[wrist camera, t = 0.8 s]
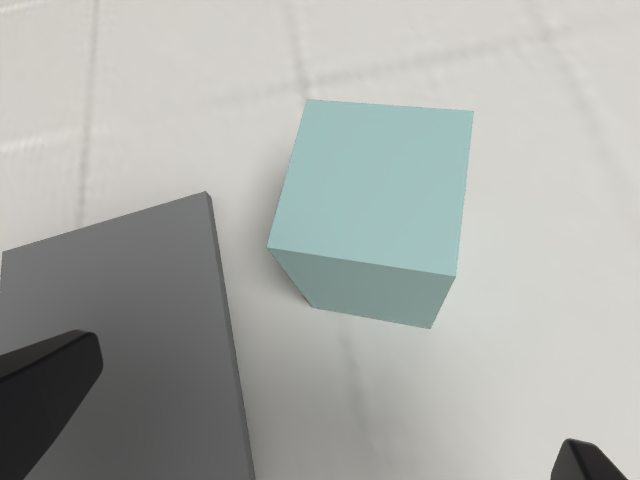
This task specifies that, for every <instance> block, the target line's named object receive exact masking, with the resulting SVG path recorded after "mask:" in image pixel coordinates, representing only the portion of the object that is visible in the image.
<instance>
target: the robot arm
mask: <svg viewBox="0 0 640 480" xmlns="http://www.w3.org/2000/svg"><path fill="white" fill-rule="evenodd" d="M103 367H104V361H103V357H102V352H101V347H100V343H99V339H98V336H97V335H96V333H94V332H91V331H87V330H82V329H74V330H71V331H68V332H65V333H62V334H59V335H57V336H54V337H51V338H48V339H45V340H42V341H39V342H37V343H34V344H31V345H28V346H25V347H22V348H19V349H17V350H14V351H11V352H8V353H5V354H2V355H0V480H24V479H25V478H26V476H27V475H28V474H29V473H30V471H31V470H32V469H33V468H34V466H35V465H36V464H37V463H38V462H39V460H40V459H41V458H42V457H43V455H44V454H45V453H46V452H47V450H48V449H49V448H50V447H51V445H52V444H53V443H54V442H55V440H56V439H57V437H58V436H59V435H60V433H61V432H62V430H63V429H64V428H65V426H66V425H67V423H68V422H69V420H70V419H71V417H72V416H73V414H74V413H75V411H76V410H77V409H78V407H79V406H80V404H81V403H82V401H83V400H84V398H85V397H86V395H87V394H88V392H89V391H90V390H91V388H92V387H93V385H94V384H95V382H96V381H97V379H98V378H99V376H100V375H101V373H102V370H103ZM551 480H628V479H627V478H626V477H625V476H624V475H623V474H622V473H621V471H620V470H619V469H618V468H617V467H616V466H615V465H614V464H613V463H612V462H611V461H610V460H609V459H608V457H607V456H606V455H605V454H604V453H603V452H602V451H601V450H600V449H599V448H598V447H597V446H596V445H594V444H592V443H589V442H584V441H580V440H575V439H571V438H570V439H566V440H565V441H564V442H563V444H562V446H561V449H560V451H559V454H558V456H557V459H556V461H555V464H554V467H553V469H552V472H551Z"/></svg>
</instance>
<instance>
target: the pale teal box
mask: <svg viewBox="0 0 640 480" xmlns="http://www.w3.org/2000/svg"><path fill="white" fill-rule="evenodd" d="M473 113H474V111H465V110H451V109H437V108H422V107H408V106H394V105H380V104H366V103H351V102H337V101H323V100H309V99H307V100H306V103H305V107H304V111H303V114H302V118H301V122H300V126H299V129H298V133H297V137H296V140H295V144H294V148H293V151H292V155H291V159H290V162H289V166H288V170H287V173H286V177H285V181H284V184H283V188H282V192H281V195H280V199H279V203H278V206H277V210H276V214H275V217H274V221H273V225H272V229H271V232H270V236H269V240H268V243H267V249H268V250H269V251H270V253H271V254H272V255H273V256H274V258H275V259H276V260H277V262H278V263H279V264H280V265H281V267H282V268H283V269H284V271H285V272H286V273H287V275H288V276H289V277H290V278H291V280H292V281H293V282H294V284H295V285H296V286H297V287H298V289H299V290H300V291H301V293H302V294H303V295H304V296H305V298H306V299H307V300H308V302H309V303H310V304H311V305H312V307H313V308H318V309H324V310H329V311H335V312H340V313H346V314H351V315H357V316H362V317H368V318H373V319H379V320H384V321H390V322H395V323H400V324H406V325H411V326H417V327H422V328H428V329H431V327H432V325H433V322H434V320H435V318H436V316H437V314H438V312H439V310H440V308H441V306H442V304H443V302H444V300H445V298H446V296H447V294H448V291H449V289H450V287H451V285H452V283H453V281H454V279H455V277H456V270H457V260H458V251H459V242H460V233H461V224H462V214H463V205H464V196H465V187H466V178H467V168H468V159H469V150H470V141H471V132H472V122H473Z"/></svg>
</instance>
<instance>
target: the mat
mask: <svg viewBox="0 0 640 480" xmlns="http://www.w3.org/2000/svg"><path fill="white" fill-rule="evenodd" d="M74 329H82V330H87V331H91V332H94V333H96V335H97V336H98V339H99V343H100V347H101V352H102V357H103V361H104V367H103V370H102V373H101V375H100V376H99V378H98V379H97V381H96V382H95V384H94V385H93V387H92V388H91V390H90V391H89V392H88V394H87V395H86V397H85V398H84V400H83V401H82V403H81V404H80V406H79V407H78V409H77V410H76V411H75V413H74V414H73V416H72V417H71V419H70V420H69V422H68V423H67V425H66V426H65V428H64V429H63V430H62V432H61V433H60V435H59V436H58V437H57V439H56V440H55V442H54V443H53V444H52V445H51V447H50V448H49V449H48V450H47V452H46V453H45V454H44V455H43V457H42V458H41V459H40V460H39V462H38V463H37V464H36V465H35V466H34V468H33V469H32V470H31V471H30V473H29V474H28V475H27V476H26V478H25V479H24V480H255V474H254V468H253V462H252V455H251V449H250V442H249V436H248V430H247V423H246V417H245V411H244V404H243V398H242V392H241V385H240V379H239V372H238V366H237V360H236V353H235V347H234V341H233V334H232V328H231V321H230V315H229V309H228V302H227V296H226V290H225V283H224V277H223V270H222V264H221V258H220V251H219V245H218V239H217V232H216V226H215V219H214V213H213V207H212V200H211V197H210V196H209V194H208V193H207V192H206V191H204V192H201V193H198V194H194V195H191V196H188V197H184V198H181V199H178V200H174V201H171V202H168V203H164V204H161V205H158V206H154V207H151V208H148V209H144V210H141V211H138V212H134V213H131V214H128V215H124V216H121V217H118V218H114V219H111V220H108V221H104V222H101V223H98V224H94V225H91V226H88V227H84V228H81V229H77V230H74V231H71V232H67V233H64V234H61V235H57V236H54V237H51V238H47V239H44V240H41V241H37V242H34V243H31V244H27V245H24V246H21V247H17V248H14V249H11V250H7V251H4V252H3V253H2V267H1V282H0V355H2V354H5V353H8V352H11V351H14V350H17V349H19V348H22V347H25V346H28V345H31V344H34V343H37V342H39V341H42V340H45V339H48V338H51V337H54V336H57V335H59V334H62V333H65V332H68V331H71V330H74Z"/></svg>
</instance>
